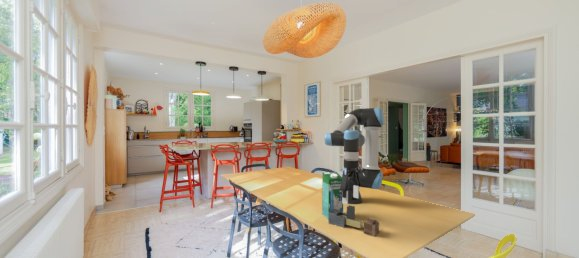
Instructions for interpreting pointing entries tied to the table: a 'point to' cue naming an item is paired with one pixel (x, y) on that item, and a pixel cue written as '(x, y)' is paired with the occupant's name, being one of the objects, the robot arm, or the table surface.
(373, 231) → the socket
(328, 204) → the milk carton
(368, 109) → the robot arm
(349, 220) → the slip tube
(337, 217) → the sleeve
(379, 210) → the table surface
